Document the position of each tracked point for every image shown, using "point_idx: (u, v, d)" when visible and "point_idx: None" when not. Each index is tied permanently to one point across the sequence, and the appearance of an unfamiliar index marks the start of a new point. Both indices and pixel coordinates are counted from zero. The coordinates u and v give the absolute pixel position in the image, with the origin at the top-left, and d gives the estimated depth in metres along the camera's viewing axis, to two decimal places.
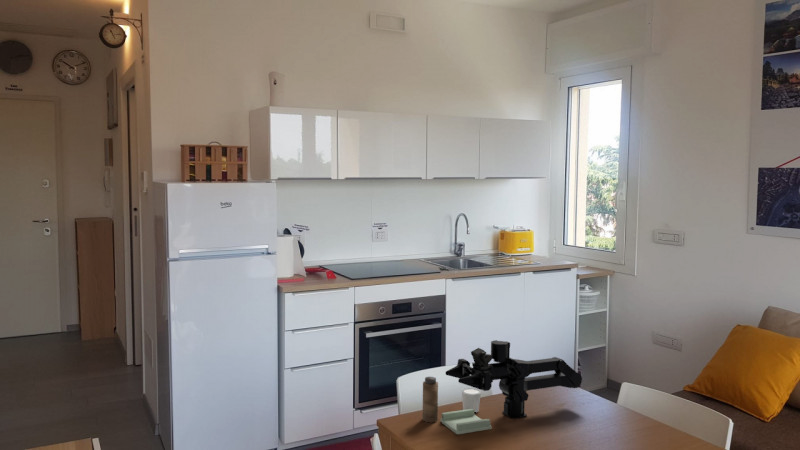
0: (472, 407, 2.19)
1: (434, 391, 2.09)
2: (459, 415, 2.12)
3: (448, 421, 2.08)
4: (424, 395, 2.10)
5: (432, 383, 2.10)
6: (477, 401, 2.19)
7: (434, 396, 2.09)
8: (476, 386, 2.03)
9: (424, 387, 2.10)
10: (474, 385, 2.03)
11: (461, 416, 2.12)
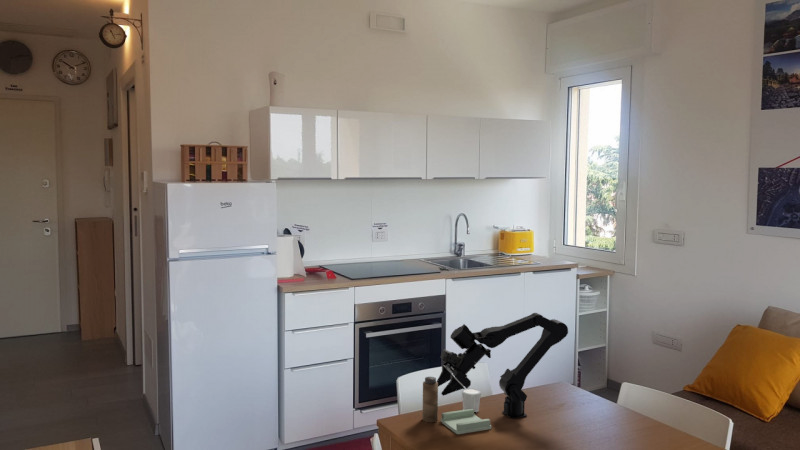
0: (472, 407, 2.19)
1: (434, 391, 2.09)
2: (459, 415, 2.12)
3: (448, 421, 2.08)
4: (424, 395, 2.10)
5: (432, 383, 2.10)
6: (477, 401, 2.19)
7: (434, 396, 2.09)
8: (459, 388, 2.07)
9: (424, 387, 2.10)
10: (457, 388, 2.07)
11: (461, 416, 2.12)
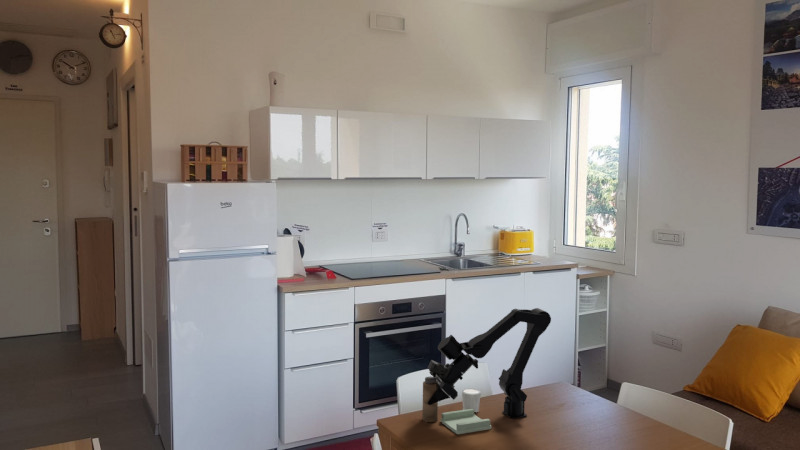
0: (472, 407, 2.19)
1: (434, 391, 2.09)
2: (459, 415, 2.12)
3: (448, 421, 2.08)
4: (424, 395, 2.10)
5: (432, 383, 2.10)
6: (477, 401, 2.19)
7: None
8: (445, 397, 2.08)
9: (424, 387, 2.10)
10: (443, 398, 2.08)
11: (461, 416, 2.12)
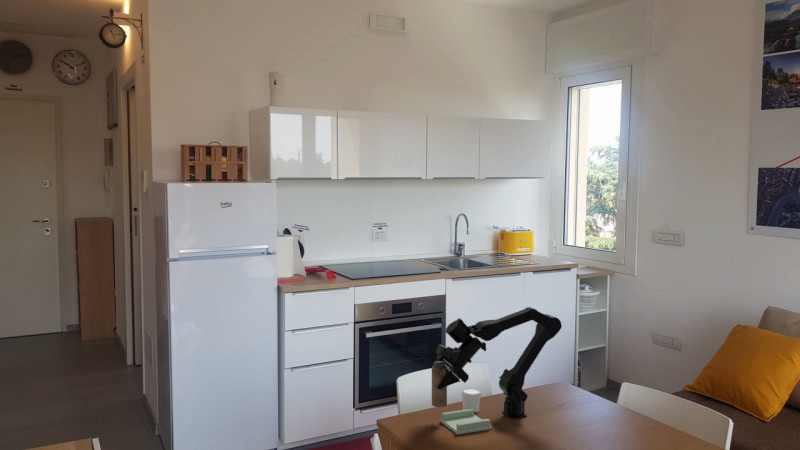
0: (472, 407, 2.19)
1: (443, 375, 2.07)
2: (459, 415, 2.12)
3: (448, 421, 2.08)
4: (433, 380, 2.08)
5: (441, 367, 2.08)
6: (477, 401, 2.19)
7: None
8: (455, 381, 2.06)
9: (433, 372, 2.08)
10: (453, 381, 2.06)
11: (461, 416, 2.12)
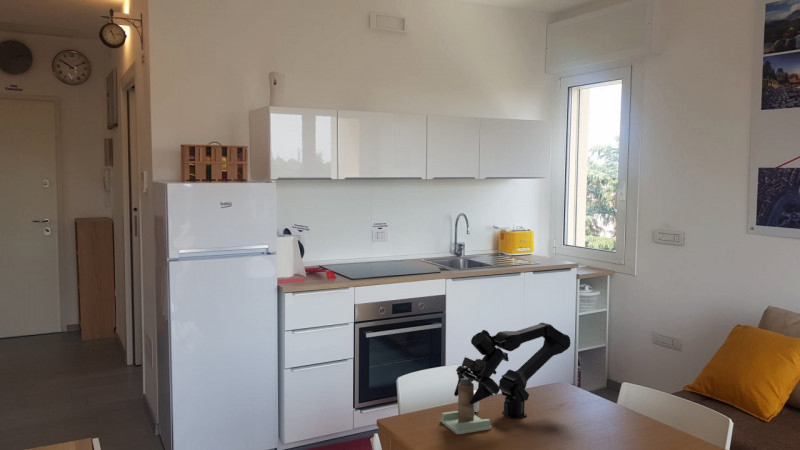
0: None
1: (471, 392, 2.05)
2: None
3: (448, 421, 2.08)
4: (462, 397, 2.05)
5: (469, 384, 2.05)
6: None
7: None
8: (487, 395, 2.03)
9: (461, 389, 2.05)
10: (485, 396, 2.03)
11: None
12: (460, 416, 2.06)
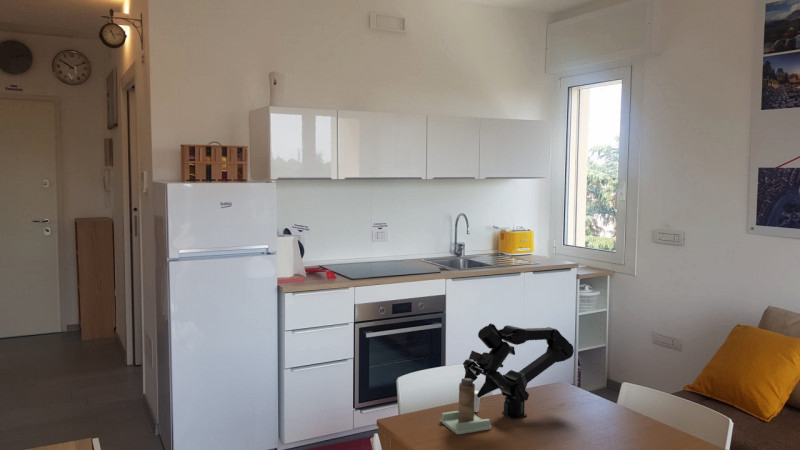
0: None
1: (472, 392, 2.05)
2: None
3: (448, 421, 2.08)
4: (462, 398, 2.05)
5: (470, 385, 2.05)
6: (477, 401, 2.19)
7: (473, 397, 2.05)
8: (494, 388, 2.04)
9: (462, 389, 2.05)
10: (492, 389, 2.04)
11: None
12: (460, 416, 2.06)
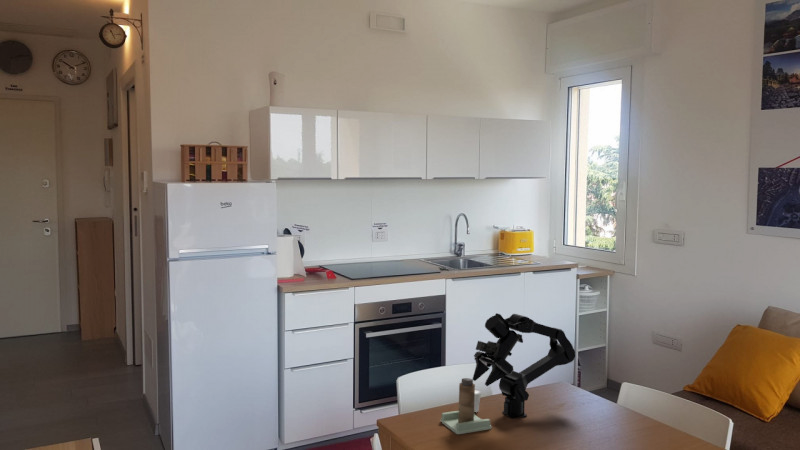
0: None
1: (472, 392, 2.05)
2: None
3: (448, 421, 2.08)
4: (463, 397, 2.05)
5: (471, 384, 2.05)
6: (477, 401, 2.19)
7: (473, 397, 2.05)
8: (502, 375, 2.06)
9: (463, 389, 2.05)
10: (500, 376, 2.06)
11: None
12: (460, 416, 2.06)
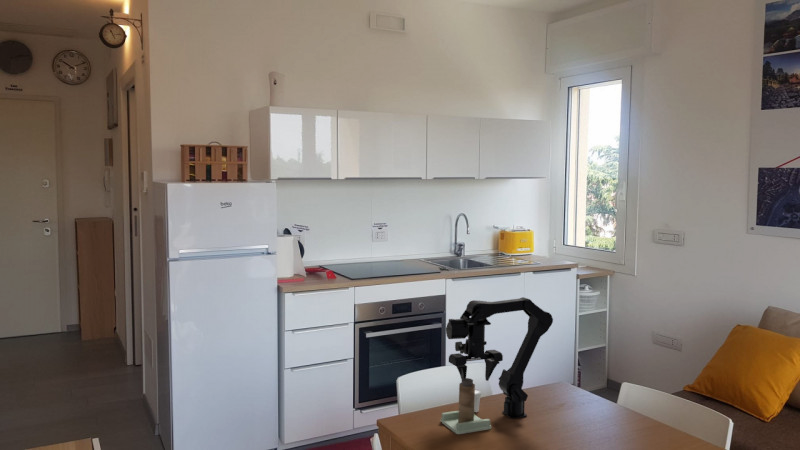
0: None
1: (472, 393, 2.05)
2: None
3: (448, 421, 2.08)
4: (462, 398, 2.05)
5: (471, 385, 2.05)
6: (477, 401, 2.19)
7: (473, 398, 2.05)
8: (462, 369, 2.08)
9: (463, 390, 2.04)
10: (462, 370, 2.09)
11: None
12: (460, 416, 2.06)
